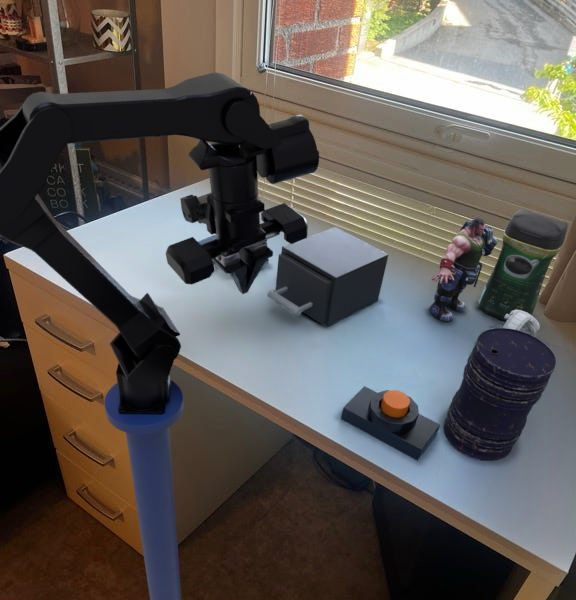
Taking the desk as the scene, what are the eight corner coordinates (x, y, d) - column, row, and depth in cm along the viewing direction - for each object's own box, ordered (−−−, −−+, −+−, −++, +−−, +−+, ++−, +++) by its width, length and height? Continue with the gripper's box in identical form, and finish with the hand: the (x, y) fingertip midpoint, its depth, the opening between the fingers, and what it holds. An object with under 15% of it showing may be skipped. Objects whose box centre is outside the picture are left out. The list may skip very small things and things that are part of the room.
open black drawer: (304, 332, 91) (309, 291, 86) (257, 301, 97) (260, 261, 92) (368, 299, 100) (376, 261, 95) (322, 273, 106) (328, 235, 101)
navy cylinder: (494, 409, 82) (533, 326, 72) (526, 459, 75) (573, 375, 65) (432, 412, 80) (462, 328, 71) (458, 464, 73) (496, 378, 63)
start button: (375, 409, 74) (378, 400, 73) (388, 395, 77) (390, 386, 76) (399, 422, 73) (402, 412, 72) (411, 407, 75) (414, 398, 74)
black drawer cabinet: (327, 327, 94) (336, 277, 88) (277, 294, 101) (281, 246, 94) (377, 301, 102) (388, 254, 96) (328, 272, 108) (335, 226, 102)
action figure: (437, 341, 94) (470, 243, 82) (404, 324, 97) (431, 227, 85) (488, 299, 106) (523, 209, 94) (457, 285, 109) (488, 196, 97)
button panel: (339, 419, 78) (344, 398, 75) (362, 396, 82) (367, 375, 79) (417, 462, 73) (424, 441, 70) (437, 434, 77) (444, 414, 74)
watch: (523, 370, 90) (550, 313, 83) (501, 391, 85) (527, 334, 78) (492, 353, 93) (516, 297, 86) (469, 373, 88) (492, 316, 81)
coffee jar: (535, 312, 104) (578, 218, 92) (522, 330, 99) (566, 233, 87) (486, 292, 108) (521, 200, 96) (471, 309, 103) (506, 214, 91)
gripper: (263, 145, 75) (267, 243, 87) (136, 186, 69) (159, 286, 80) (311, 179, 69) (308, 279, 81) (177, 228, 62) (195, 329, 74)
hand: (243, 291), depth 79 cm, fingers closed
